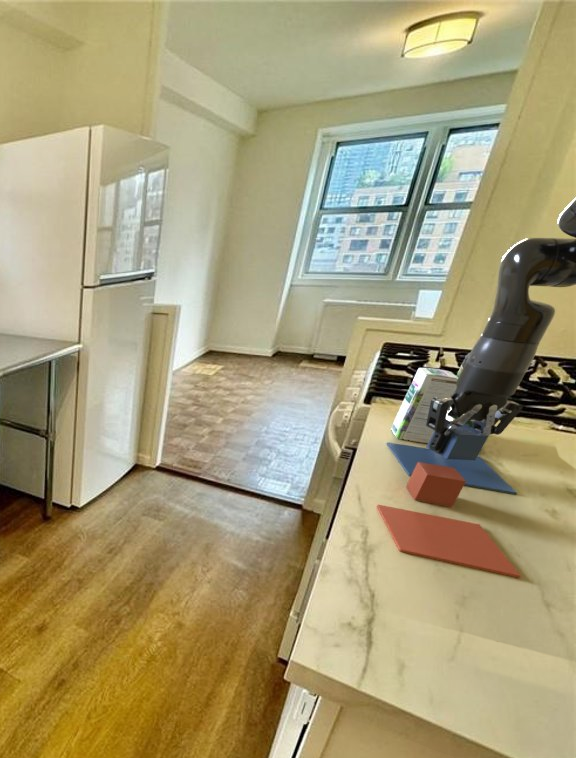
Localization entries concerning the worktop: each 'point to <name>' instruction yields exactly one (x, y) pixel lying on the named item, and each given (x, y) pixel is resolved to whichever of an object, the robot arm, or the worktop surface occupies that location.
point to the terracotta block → (435, 484)
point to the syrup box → (422, 403)
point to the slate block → (463, 444)
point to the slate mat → (470, 470)
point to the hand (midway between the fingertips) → (451, 451)
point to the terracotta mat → (445, 540)
